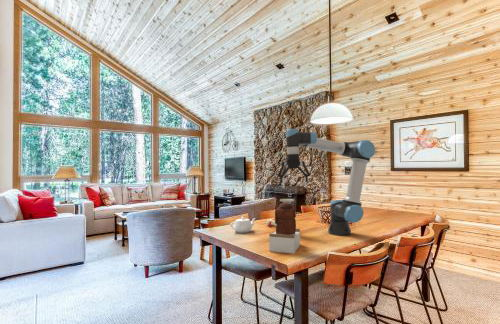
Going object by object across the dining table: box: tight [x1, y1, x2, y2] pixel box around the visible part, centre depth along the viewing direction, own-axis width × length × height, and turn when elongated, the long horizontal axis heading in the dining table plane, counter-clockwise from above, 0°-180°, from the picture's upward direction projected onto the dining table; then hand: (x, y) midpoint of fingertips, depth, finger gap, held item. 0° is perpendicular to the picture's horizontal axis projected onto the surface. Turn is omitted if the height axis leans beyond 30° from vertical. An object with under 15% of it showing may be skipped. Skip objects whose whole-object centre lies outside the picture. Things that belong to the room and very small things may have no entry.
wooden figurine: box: [274, 202, 297, 235], centre depth 162 cm, size 12×6×18 cm, turn 106°
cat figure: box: [264, 218, 277, 228], centre depth 215 cm, size 10×9×25 cm
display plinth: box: [268, 228, 301, 254], centre depth 162 cm, size 14×18×10 cm
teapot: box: [229, 216, 257, 234], centre depth 204 cm, size 22×14×11 cm, turn 124°
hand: (294, 187), depth 175 cm, fingers open, 13 cm apart
